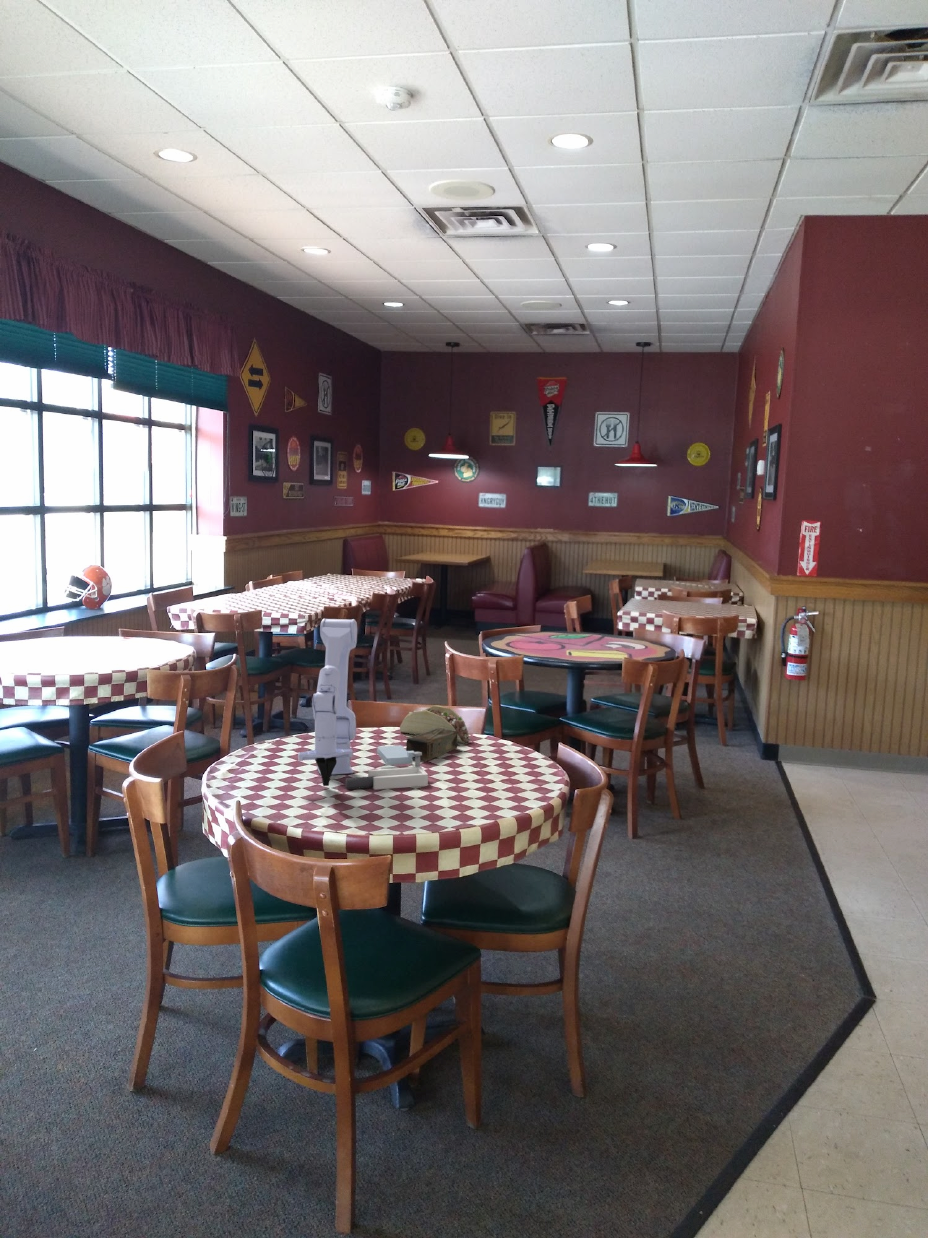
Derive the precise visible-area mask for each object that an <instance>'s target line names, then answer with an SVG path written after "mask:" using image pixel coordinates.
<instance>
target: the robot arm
mask: <svg viewBox="0 0 928 1238" xmlns="http://www.w3.org/2000/svg"><path fill="white" fill-rule="evenodd" d="M319 626H320V627H319V634H320V639H321V641H322V644H323V645H324V647H325V656H324V657H325V659H324V667H322V668H321V669H320V670H319V674H318V680H317V687H316V693H313V696H312V699H311V701H312V703H311V707H312V713H313V714H312V715H313V720H314V750H309V751H307V750H306V751H301V752H299V751H298V753H297V759H298V762H303V761H311V760H314V762H315V763H316V769H317V771H318V773H319V774H320V777H321V783H322V786H323V787H329V785H330V780H331V777H332V776H333V775H347V774H354V770H353V768H352V767H351V759H353V758H354V751H353V750H354V749H352V748H351V741H353V740H354V739H355V738H356V734H357V733H356V732H357V721H356V714H355V712H354V711H353V710H351V709H350V708H349V707H348V706H347V701H348V699H347V698H348V697H347V696H348V681H349V680H348V679H349V678H348V675H349V674H348V673H349V658H350V652H351V650H353V649H355V648H356V646H357V642H358V623H357V621H356V619H354V618H353V619H345V618H344V619H341V618H340V619H339V618H338V619H337V618H323V619H322V620H321V621H320V624H319ZM341 717H342V718H341Z"/></svg>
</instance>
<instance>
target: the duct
mask: <svg viewBox="0 0 928 1238" xmlns="http://www.w3.org/2000/svg"><path fill="white" fill-rule="evenodd" d="M367 772H368V773H367V774H368V775H367V777H371V776H376V777H373V787H372V789H373V790H385V789H387V790H389V789H400V788H413V787H426V786H429V784H428V783H429V774H428V773H427V772H426V770H424V768H422V766H421V760H420V756H415V759H414V766H406V767H395V768H392V767H391V768H378V769H368V771H367Z"/></svg>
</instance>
